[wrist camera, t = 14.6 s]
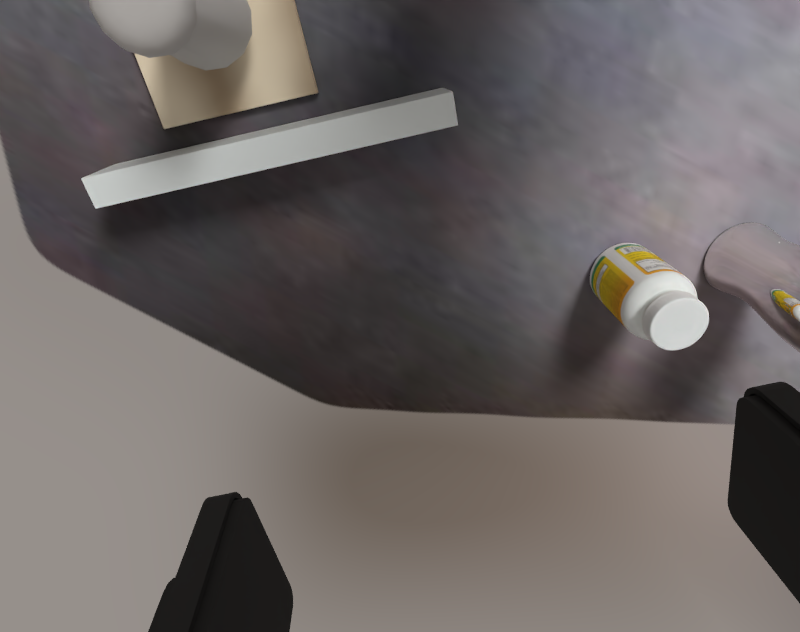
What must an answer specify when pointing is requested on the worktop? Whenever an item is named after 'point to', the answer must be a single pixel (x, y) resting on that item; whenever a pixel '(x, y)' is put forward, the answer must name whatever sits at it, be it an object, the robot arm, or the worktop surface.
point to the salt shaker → (178, 28)
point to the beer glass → (759, 275)
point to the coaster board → (236, 71)
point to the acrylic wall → (272, 147)
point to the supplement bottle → (649, 296)
